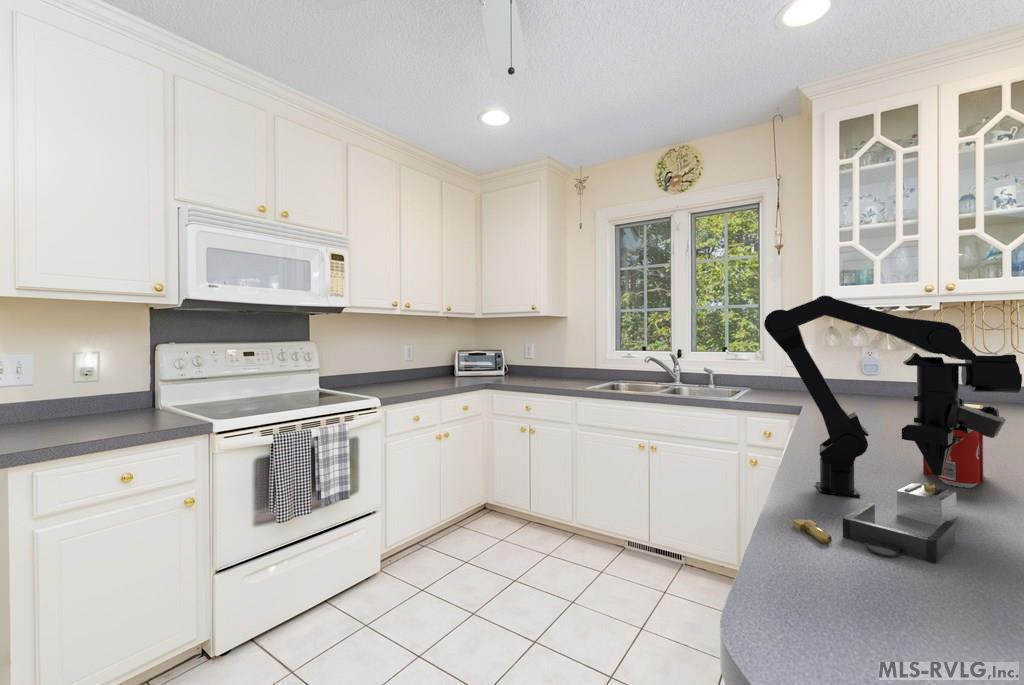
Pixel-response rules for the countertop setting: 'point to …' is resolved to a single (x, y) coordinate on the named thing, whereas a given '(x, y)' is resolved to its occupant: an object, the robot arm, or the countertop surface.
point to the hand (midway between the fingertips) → (937, 475)
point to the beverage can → (963, 461)
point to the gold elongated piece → (812, 530)
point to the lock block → (926, 503)
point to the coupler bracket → (896, 537)
